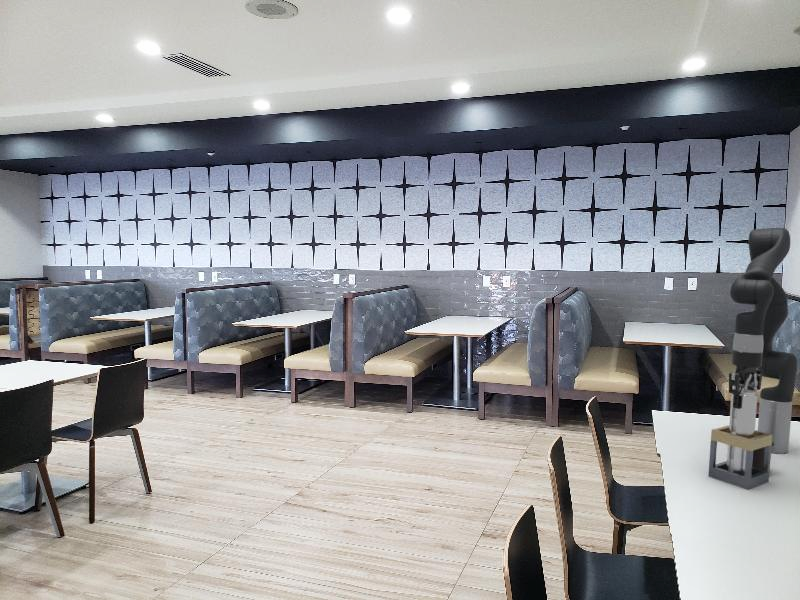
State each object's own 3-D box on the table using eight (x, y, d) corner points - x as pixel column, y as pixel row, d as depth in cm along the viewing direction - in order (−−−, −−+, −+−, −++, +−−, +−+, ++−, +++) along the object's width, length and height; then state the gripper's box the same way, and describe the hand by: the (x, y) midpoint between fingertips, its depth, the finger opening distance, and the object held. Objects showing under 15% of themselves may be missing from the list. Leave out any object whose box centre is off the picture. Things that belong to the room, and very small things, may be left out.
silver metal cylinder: (754, 479, 174) (761, 393, 172) (730, 477, 176) (736, 391, 174) (746, 471, 181) (753, 388, 179) (723, 469, 182) (728, 386, 180)
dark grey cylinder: (775, 470, 186) (777, 438, 185) (768, 477, 180) (771, 444, 179) (745, 463, 192) (747, 432, 191) (738, 470, 186) (740, 438, 185)
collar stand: (729, 469, 186) (732, 424, 185) (768, 481, 177) (772, 434, 175) (708, 476, 180) (711, 429, 179) (747, 489, 170) (751, 440, 169)
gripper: (747, 345, 182) (743, 400, 184) (720, 349, 174) (717, 406, 176) (774, 349, 176) (770, 406, 177) (747, 353, 168) (743, 413, 169)
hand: (743, 406), depth 177 cm, fingers closed on silver metal cylinder, 6 cm apart
